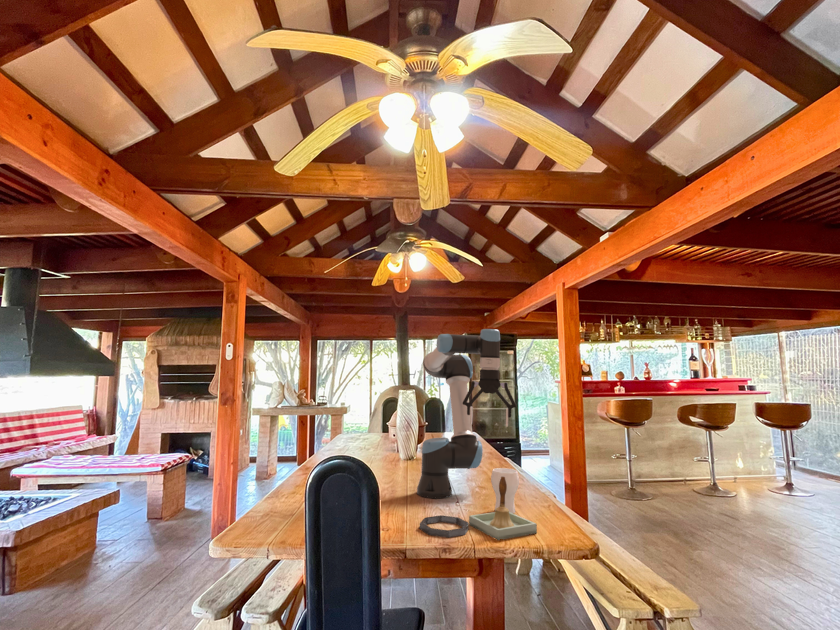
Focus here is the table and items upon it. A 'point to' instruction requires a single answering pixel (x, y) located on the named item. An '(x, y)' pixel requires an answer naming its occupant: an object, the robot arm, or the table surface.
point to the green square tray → (519, 528)
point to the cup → (512, 486)
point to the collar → (444, 532)
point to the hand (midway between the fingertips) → (488, 425)
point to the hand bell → (502, 509)
